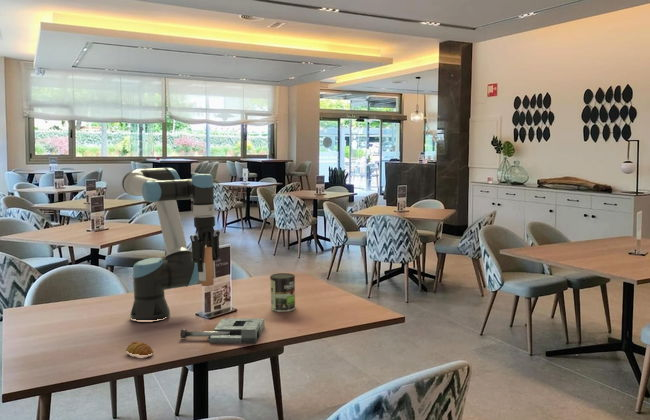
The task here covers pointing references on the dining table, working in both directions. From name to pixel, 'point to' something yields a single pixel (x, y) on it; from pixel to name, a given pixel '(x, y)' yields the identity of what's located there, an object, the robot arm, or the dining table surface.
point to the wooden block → (208, 267)
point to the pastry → (139, 348)
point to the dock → (238, 330)
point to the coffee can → (282, 292)
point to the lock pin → (201, 333)
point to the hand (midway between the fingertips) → (207, 278)
